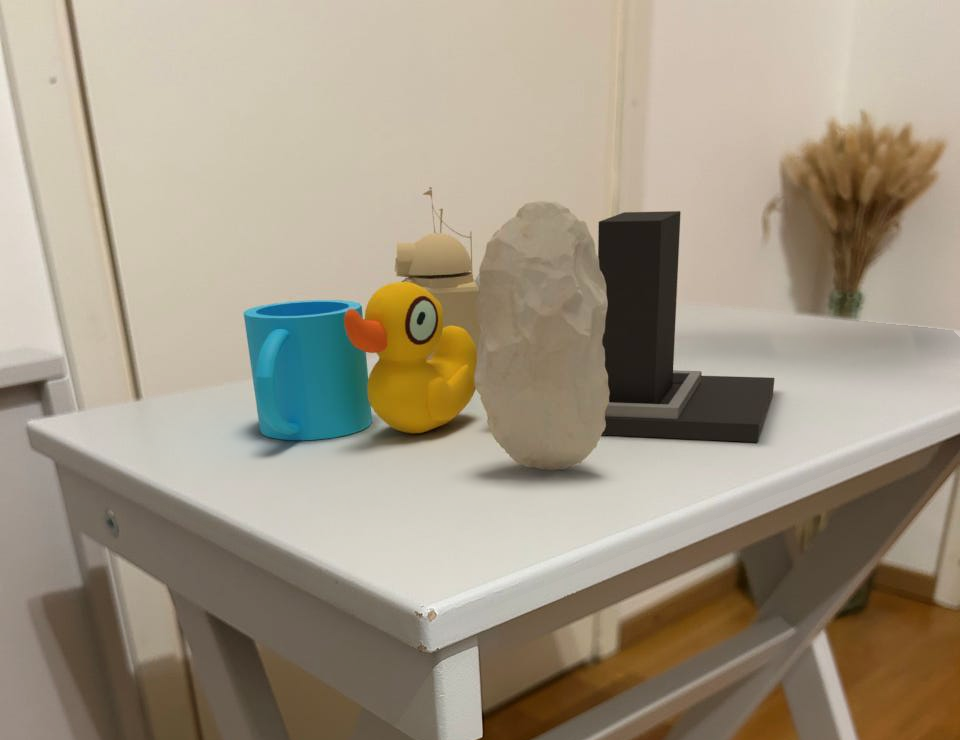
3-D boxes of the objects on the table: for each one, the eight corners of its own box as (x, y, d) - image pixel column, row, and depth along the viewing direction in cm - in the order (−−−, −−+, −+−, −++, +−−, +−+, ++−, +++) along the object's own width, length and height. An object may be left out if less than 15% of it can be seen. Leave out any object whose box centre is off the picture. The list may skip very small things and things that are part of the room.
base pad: (773, 393, 76) (775, 366, 75) (757, 442, 64) (760, 411, 63) (545, 385, 81) (545, 360, 80) (492, 429, 69) (491, 401, 68)
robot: (387, 370, 89) (372, 187, 83) (476, 364, 90) (469, 183, 83) (389, 395, 80) (373, 192, 73) (489, 389, 81) (482, 187, 74)
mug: (286, 410, 77) (272, 300, 73) (386, 412, 75) (377, 299, 71) (214, 454, 67) (194, 328, 63) (328, 457, 65) (314, 328, 61)
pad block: (672, 386, 74) (680, 211, 69) (653, 411, 67) (661, 220, 62) (619, 384, 75) (623, 212, 70) (596, 409, 68) (598, 221, 63)
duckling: (388, 456, 64) (374, 294, 60) (332, 444, 68) (315, 289, 63) (499, 418, 72) (494, 272, 68) (444, 409, 75) (436, 269, 71)
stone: (611, 456, 62) (617, 195, 56) (606, 482, 58) (611, 201, 51) (488, 454, 64) (478, 200, 57) (473, 480, 59) (461, 206, 52)
